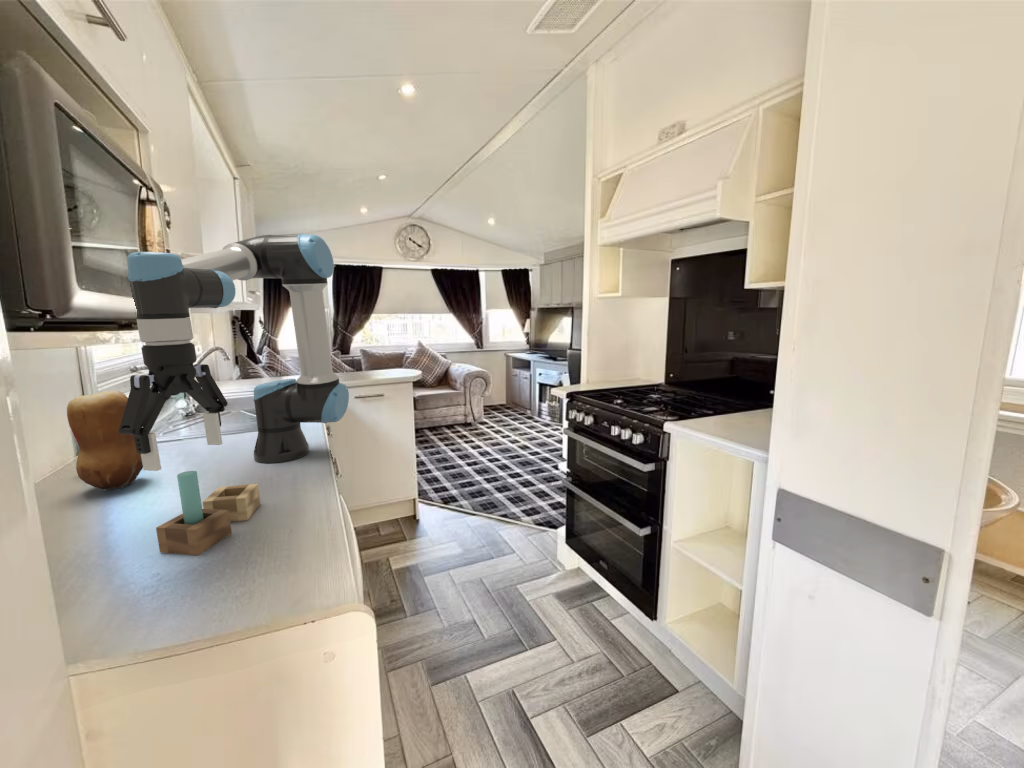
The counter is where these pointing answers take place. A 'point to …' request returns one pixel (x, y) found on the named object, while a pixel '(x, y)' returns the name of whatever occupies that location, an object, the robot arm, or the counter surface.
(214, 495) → the light wooden square frame
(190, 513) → the teal cylindrical rod
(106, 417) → the butternut squash
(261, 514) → the counter surface
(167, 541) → the brown wooden square frame
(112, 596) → the counter surface
